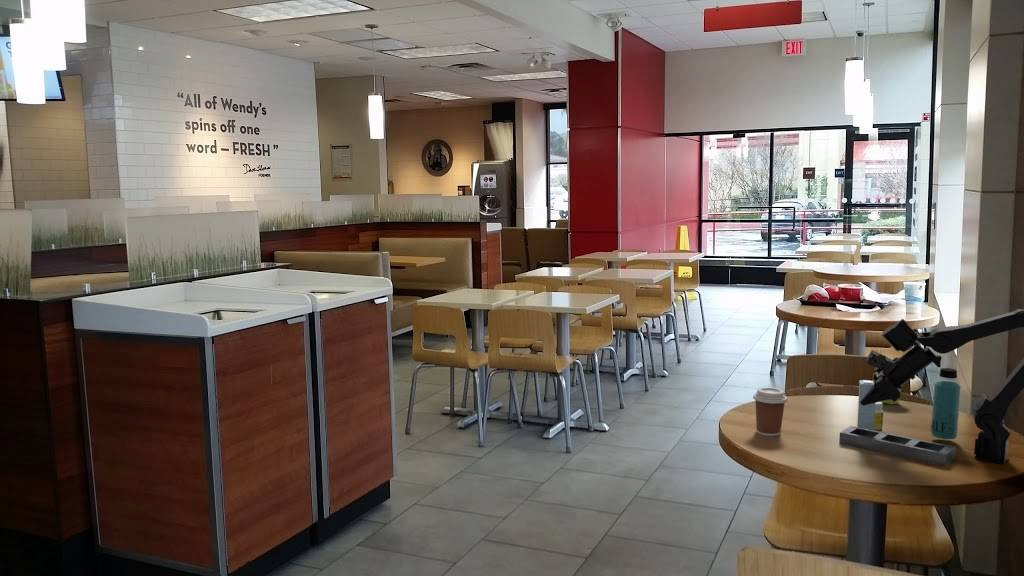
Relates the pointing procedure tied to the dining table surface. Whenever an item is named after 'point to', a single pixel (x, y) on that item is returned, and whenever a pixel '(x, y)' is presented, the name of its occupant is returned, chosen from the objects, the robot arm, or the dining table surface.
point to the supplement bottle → (878, 417)
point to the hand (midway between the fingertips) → (861, 402)
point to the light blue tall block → (865, 407)
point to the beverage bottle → (945, 406)
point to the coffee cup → (769, 410)
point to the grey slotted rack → (898, 445)
